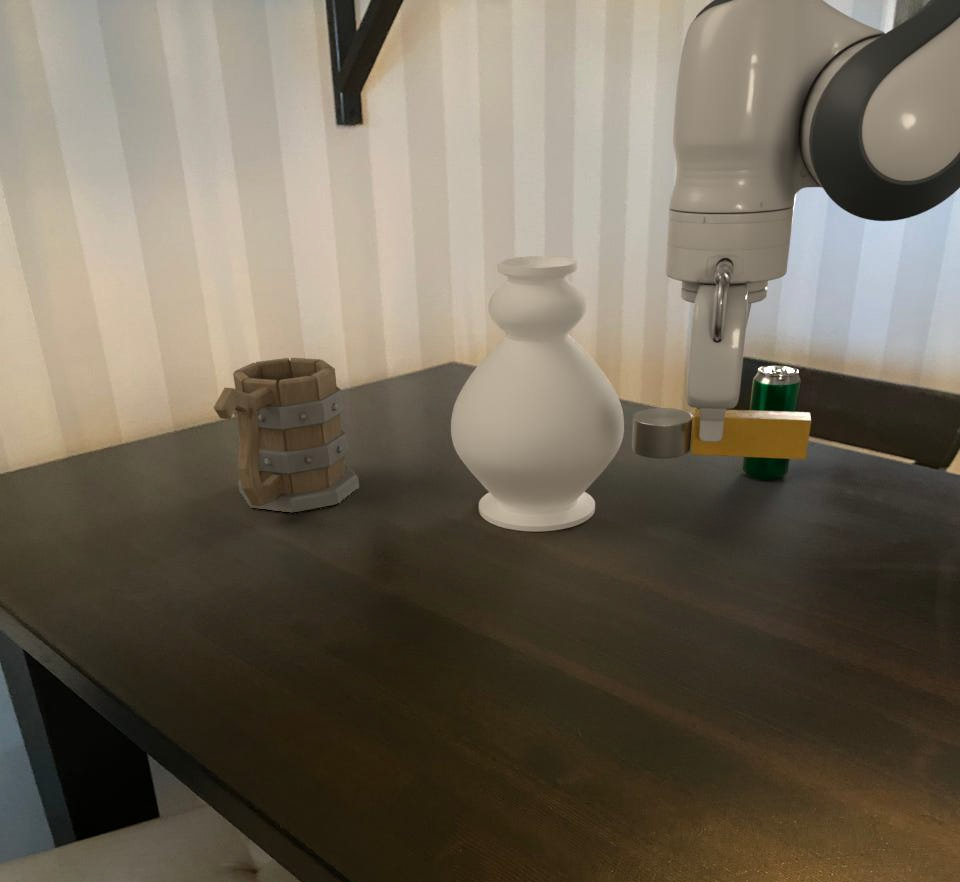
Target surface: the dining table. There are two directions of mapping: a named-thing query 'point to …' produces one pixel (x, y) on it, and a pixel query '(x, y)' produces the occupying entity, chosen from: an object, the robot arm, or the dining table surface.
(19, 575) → the dining table surface
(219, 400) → the tankard
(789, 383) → the soda can
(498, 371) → the decorative vase
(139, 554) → the dining table surface
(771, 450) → the silver puck with tab
